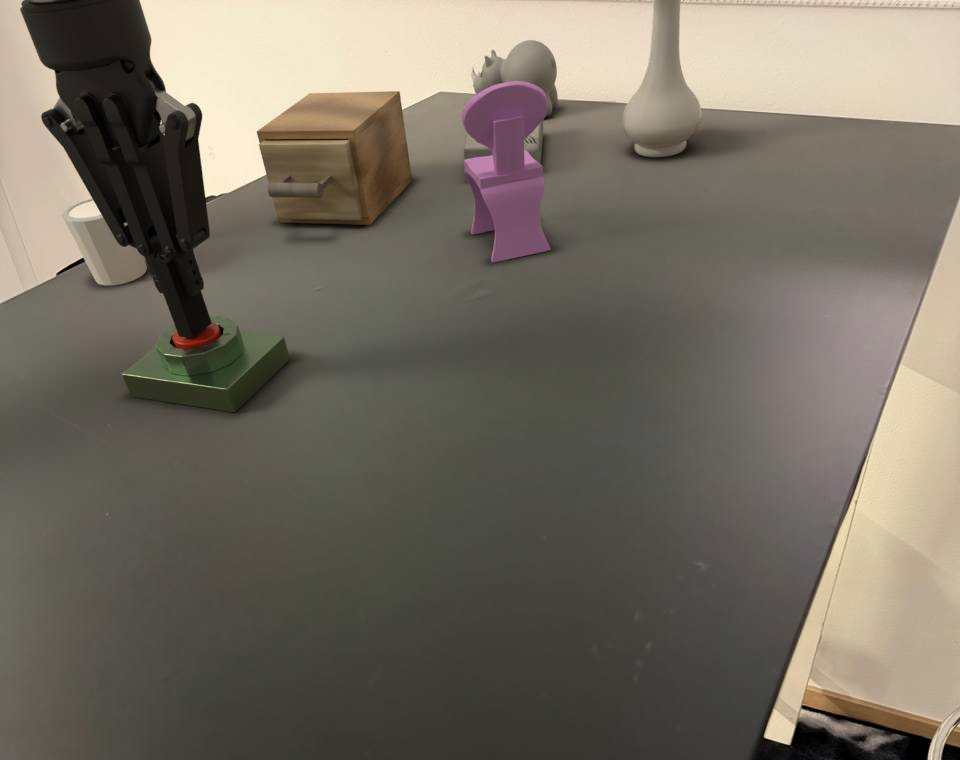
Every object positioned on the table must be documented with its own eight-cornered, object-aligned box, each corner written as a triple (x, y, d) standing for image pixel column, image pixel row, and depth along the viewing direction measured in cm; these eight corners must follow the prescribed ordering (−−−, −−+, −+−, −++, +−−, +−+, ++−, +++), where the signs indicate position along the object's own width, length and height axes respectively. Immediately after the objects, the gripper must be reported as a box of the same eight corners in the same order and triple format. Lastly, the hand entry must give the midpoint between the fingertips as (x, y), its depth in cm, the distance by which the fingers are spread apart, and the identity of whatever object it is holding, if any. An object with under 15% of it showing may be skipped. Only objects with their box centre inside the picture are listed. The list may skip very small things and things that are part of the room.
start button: (170, 360, 74) (162, 341, 73) (197, 338, 77) (190, 319, 76) (207, 365, 73) (201, 346, 72) (234, 342, 76) (228, 323, 74)
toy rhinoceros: (483, 106, 125) (477, 36, 119) (564, 105, 122) (562, 32, 116) (467, 122, 121) (460, 50, 115) (550, 121, 117) (548, 47, 111)
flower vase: (585, 135, 112) (582, -120, 94) (733, 129, 108) (759, -139, 90) (571, 172, 103) (565, -102, 85) (732, 167, 99) (761, -121, 81)
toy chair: (534, 218, 95) (525, 57, 84) (560, 248, 89) (555, 78, 78) (460, 233, 94) (443, 73, 83) (482, 265, 88) (466, 95, 77)
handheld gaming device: (465, 181, 105) (462, 146, 102) (476, 140, 115) (473, 107, 112) (539, 177, 104) (538, 142, 101) (543, 136, 114) (542, 103, 111)
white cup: (165, 263, 96) (141, 196, 91) (124, 291, 92) (96, 222, 87) (118, 258, 98) (92, 192, 93) (76, 284, 94) (47, 217, 89)
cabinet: (370, 224, 98) (353, 130, 91) (279, 222, 101) (256, 131, 94) (412, 180, 107) (399, 91, 100) (327, 179, 110) (309, 93, 103)
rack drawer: (345, 235, 94) (329, 157, 89) (260, 233, 97) (240, 157, 91) (400, 179, 105) (388, 106, 99) (322, 178, 108) (307, 107, 102)
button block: (130, 396, 76) (112, 354, 73) (191, 346, 81) (176, 305, 79) (234, 412, 72) (219, 368, 69) (290, 359, 78) (278, 316, 75)
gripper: (-41, 4, 57) (107, 343, 73) (115, -3, 52) (234, 359, 69) (39, -22, 61) (161, 303, 78) (189, -30, 57) (283, 316, 74)
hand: (195, 329), depth 74 cm, fingers closed
